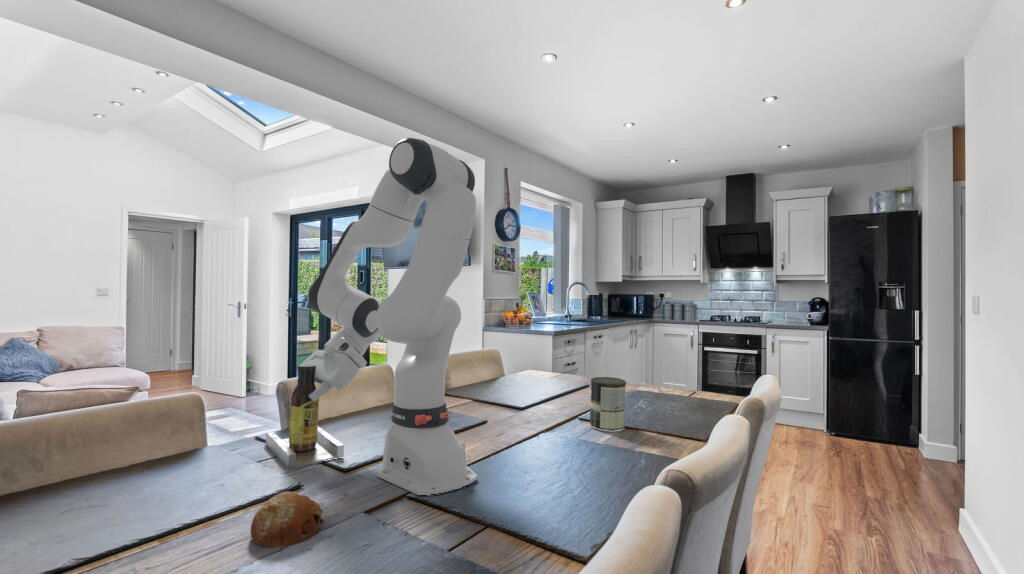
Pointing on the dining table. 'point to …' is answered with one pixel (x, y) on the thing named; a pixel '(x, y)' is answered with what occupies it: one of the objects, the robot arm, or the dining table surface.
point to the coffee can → (607, 403)
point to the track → (291, 459)
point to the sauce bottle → (303, 412)
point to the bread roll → (286, 520)
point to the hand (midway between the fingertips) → (302, 395)
